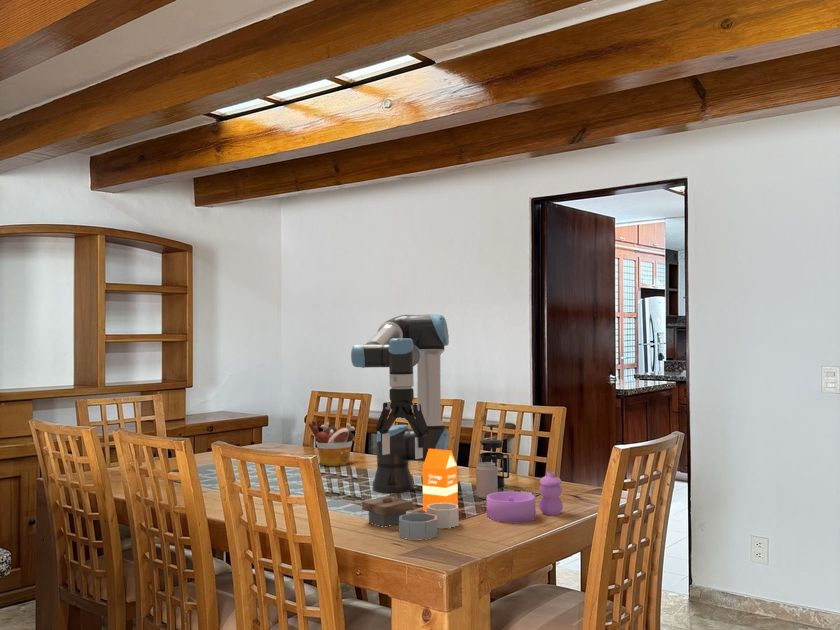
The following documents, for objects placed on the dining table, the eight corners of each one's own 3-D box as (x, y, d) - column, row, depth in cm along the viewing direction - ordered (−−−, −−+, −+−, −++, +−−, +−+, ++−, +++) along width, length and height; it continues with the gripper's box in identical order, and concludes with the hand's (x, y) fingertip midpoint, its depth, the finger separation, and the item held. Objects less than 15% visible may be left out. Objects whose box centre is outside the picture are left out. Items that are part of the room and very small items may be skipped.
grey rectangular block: (369, 523, 238) (368, 510, 238) (391, 518, 244) (390, 505, 244) (384, 527, 233) (383, 514, 233) (406, 521, 239) (405, 508, 239)
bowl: (420, 524, 235) (420, 506, 235) (442, 519, 242) (442, 501, 242) (442, 530, 228) (442, 511, 228) (465, 524, 235) (464, 506, 235)
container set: (497, 525, 234) (496, 481, 235) (480, 513, 249) (479, 472, 249) (572, 518, 241) (571, 475, 241) (551, 507, 256) (550, 467, 256)
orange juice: (446, 515, 247) (445, 452, 247) (422, 511, 252) (421, 450, 252) (458, 509, 254) (457, 448, 254) (435, 506, 258) (434, 446, 259)
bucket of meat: (351, 459, 352) (351, 416, 352) (359, 466, 336) (358, 420, 336) (307, 462, 346) (307, 418, 346) (313, 469, 330) (312, 422, 331)
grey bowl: (391, 535, 224) (391, 517, 224) (419, 527, 232) (419, 511, 232) (417, 542, 216) (417, 524, 216) (445, 534, 224) (445, 517, 224)
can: (496, 500, 267) (496, 465, 267) (475, 499, 268) (474, 464, 269) (498, 495, 274) (498, 461, 274) (477, 494, 276) (477, 461, 276)
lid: (362, 509, 239) (362, 498, 239) (389, 503, 246) (389, 492, 246) (385, 515, 231) (385, 504, 231) (412, 509, 238) (412, 498, 238)
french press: (480, 489, 285) (480, 426, 285) (475, 484, 294) (474, 423, 294) (512, 488, 287) (511, 425, 287) (505, 482, 296) (504, 422, 296)
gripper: (364, 387, 246) (364, 454, 246) (424, 390, 230) (425, 461, 230) (380, 385, 252) (381, 451, 252) (440, 388, 236) (441, 458, 236)
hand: (402, 456), depth 241 cm, fingers open, 13 cm apart
